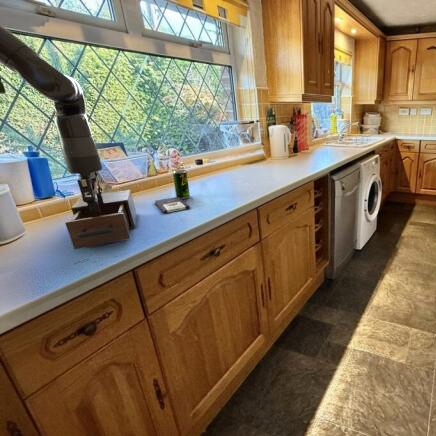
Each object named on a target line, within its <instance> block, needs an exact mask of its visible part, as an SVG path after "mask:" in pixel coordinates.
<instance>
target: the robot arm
mask: <svg viewBox="0 0 436 436" xmlns="http://www.w3.org/2000/svg"><path fill="white" fill-rule="evenodd" d="M0 64H1V65H3V66H4V67H6V68H7V69H8V70H10V71H12V72H13V73H15V74H17V75H18V76H19V77H20V78H21V79H22V80H23V81H25V82H26V83H27V84H28V85H29V86H30V87H32V88H33V89H34V90H35V91H37V92H38V93H39V94H41V95H42V96H44V97H45V98H47V99H49V100H50V101H52V104H53V108H54V111H55V114H54V116H53V124H54V127H55V131H56V133H57V137H58V140H59V146H60V150H61V153H62V156H63V158H64V159H63V160H64V162H65V164H66V168H67V171H68V173H69V174H72V175H73V174H74V175H76V174H78V175H79V179H77V180H76V181H77V185H78V187H79V191H80V195H81V196H82V198H83V201H84V202H86V203H87V205H88V208H89V211H90V214H91V215H92V216H94V215H100V213H101V212H100V209H99V208H103V207H104V206H105V205H104V201H103V198H102V195H100V194H102V189H103V188H102V184H101V182H100V178H99V173H98V172H100V171H102V170H103V165H102V160H101V157H100V154H99V151H98V147H97V144H96V142H95V139H94V136H93V133H92V130H91V126H90V124H89V121H88V117H87V110H86V108H87V107H86V101H85V96H84V92H83V89H82V88H81V86H80V84H79V82H77V80H75V78H73V77H71V76H69V75H66V74H64V73H63V72H62V71H59V69H57V68H55V67H54V66H53V65H52V64H50V63H48V62H47V61H46V60H45V59H43V58H42V57H41V55H40V54H39V53H38V52H37V51H35V49H33V48H32V47H31V46H29V45H28V44H27V43H26V42H24V40H23V41H22V40H21V39H20V38H19V37H18V36H16V35H15V34H13V33H12V32H11V31H9V30H8V29H6V28H5V27H4V26H2V25H1V24H0ZM88 195H91V196H92V197H88Z"/></svg>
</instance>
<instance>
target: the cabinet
mask: <svg viewBox="0 0 436 436" xmlns="http://www.w3.org/2000/svg"><path fill="white" fill-rule="evenodd" d="M100 195H102V198H103V201H104V205H105V206H106V205H113V204H120V203H124V204H125V207H126V211H127V215H128V218H129V222H130V226H129V230H133V229H136V227H137V218H138V214H137V210H136V206H135V203H134V198H133V195H132V192H131V189H126V190H117V191H111V192H109V193H102V194H100ZM88 197H92V196H91V195H88ZM85 208H88V205H87V203H86V202H84V201H83V198H82V195H80V197H79V198H78V199H77V200H76V202H75V203H74V204H73V205H72V207H71V208H70V209H71V212H72V214H73V216H74V215H75V214H76V213H77V211H78V210H79V209H85Z"/></svg>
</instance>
